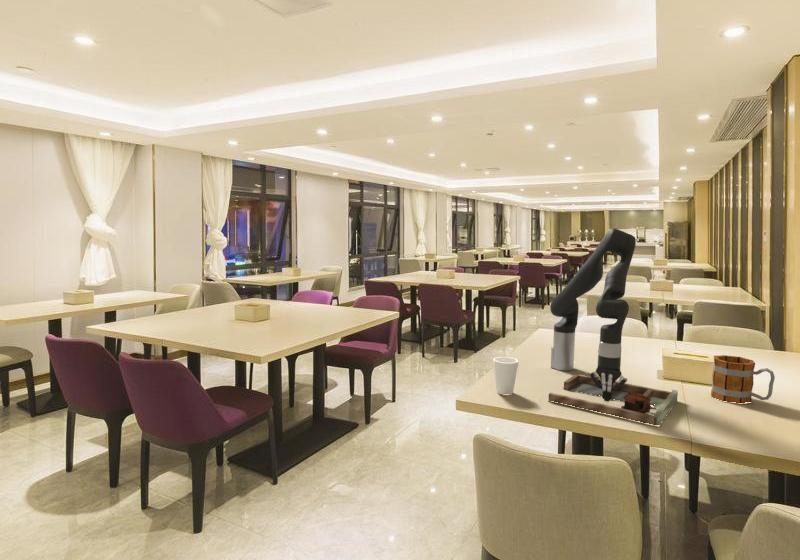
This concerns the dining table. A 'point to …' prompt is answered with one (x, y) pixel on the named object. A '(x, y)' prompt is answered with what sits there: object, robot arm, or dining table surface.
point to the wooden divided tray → (587, 385)
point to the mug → (736, 379)
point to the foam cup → (505, 374)
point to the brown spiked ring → (636, 402)
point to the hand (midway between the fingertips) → (606, 400)
